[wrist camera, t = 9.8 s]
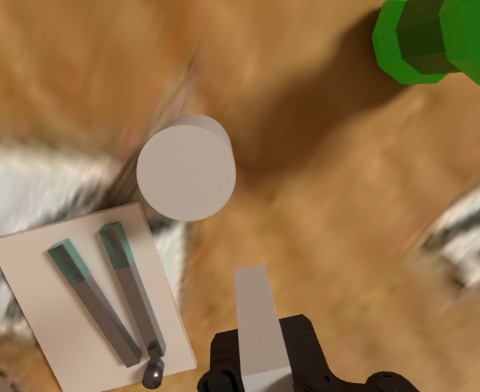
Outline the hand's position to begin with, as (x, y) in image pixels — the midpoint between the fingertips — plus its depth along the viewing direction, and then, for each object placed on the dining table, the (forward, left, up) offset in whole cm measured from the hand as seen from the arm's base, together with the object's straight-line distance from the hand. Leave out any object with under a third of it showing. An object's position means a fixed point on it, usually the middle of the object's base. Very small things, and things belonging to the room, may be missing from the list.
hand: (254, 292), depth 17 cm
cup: (-3, -4, -26) cm, 27 cm away
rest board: (+13, -21, -26) cm, 36 cm away
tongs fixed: (+13, -16, -26) cm, 33 cm away
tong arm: (+11, -20, -25) cm, 34 cm away
